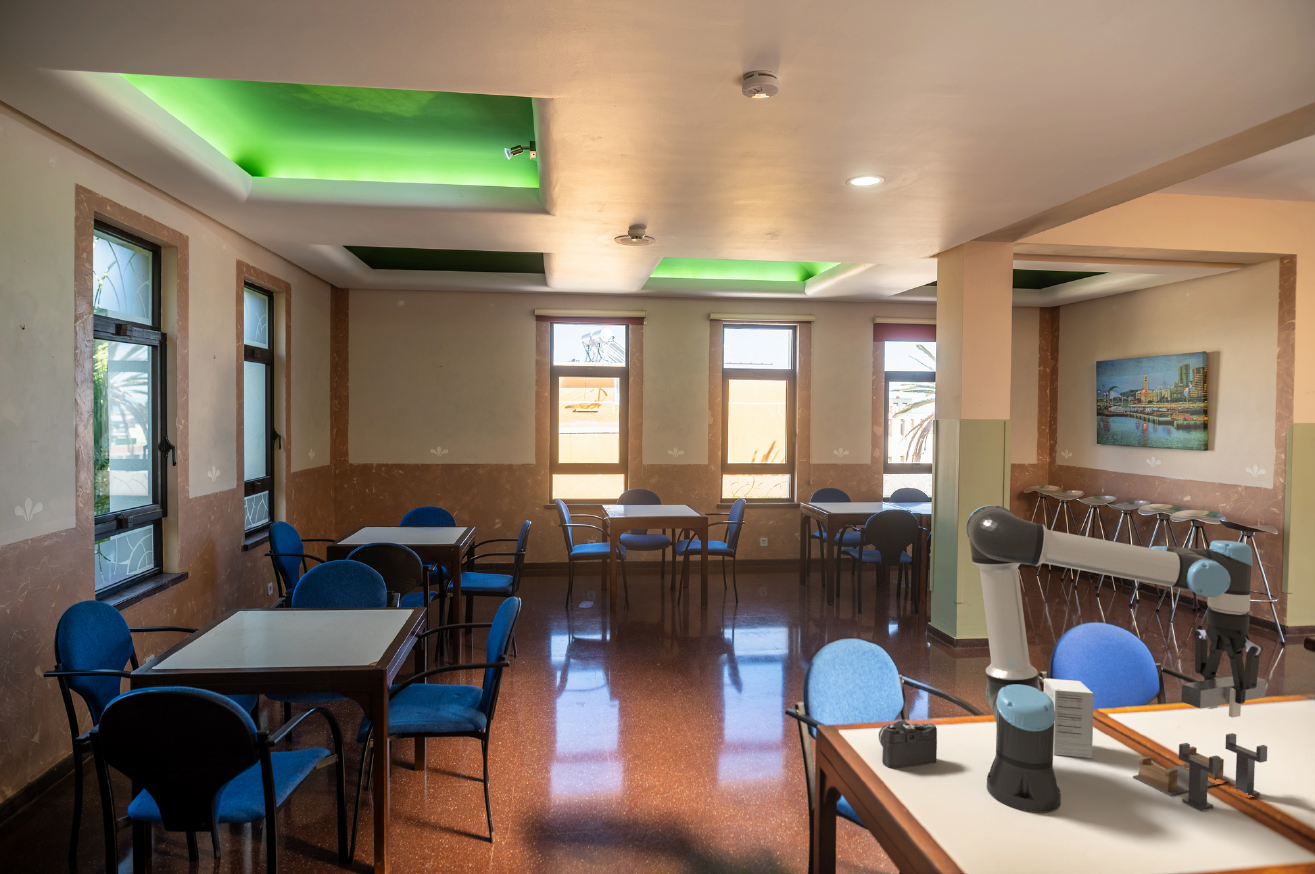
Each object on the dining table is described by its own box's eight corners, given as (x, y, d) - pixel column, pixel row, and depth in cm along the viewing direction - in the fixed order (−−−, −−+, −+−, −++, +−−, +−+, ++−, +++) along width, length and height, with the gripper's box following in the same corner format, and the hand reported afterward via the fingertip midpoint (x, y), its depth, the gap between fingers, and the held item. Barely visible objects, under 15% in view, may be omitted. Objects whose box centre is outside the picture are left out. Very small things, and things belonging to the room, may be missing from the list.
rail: (1200, 708, 157) (1201, 690, 157) (1181, 701, 161) (1182, 683, 161) (1265, 697, 165) (1266, 679, 165) (1245, 690, 168) (1246, 673, 168)
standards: (1208, 814, 157) (1210, 758, 156) (1174, 798, 163) (1176, 744, 163) (1267, 799, 163) (1269, 745, 163) (1233, 783, 170) (1234, 732, 170)
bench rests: (1170, 796, 164) (1171, 773, 164) (1132, 777, 173) (1133, 756, 172) (1228, 782, 171) (1229, 760, 171) (1189, 764, 179) (1190, 744, 179)
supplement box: (1093, 759, 182) (1095, 693, 181) (1053, 755, 184) (1055, 690, 183) (1079, 742, 191) (1080, 680, 191) (1041, 738, 193) (1043, 677, 193)
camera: (913, 744, 189) (914, 707, 189) (940, 764, 178) (941, 724, 178) (866, 750, 185) (866, 712, 185) (890, 770, 175) (891, 730, 174)
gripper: (1282, 619, 155) (1277, 725, 156) (1199, 599, 171) (1195, 695, 172) (1260, 621, 153) (1254, 729, 154) (1178, 601, 169) (1173, 699, 170)
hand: (1223, 711), depth 163 cm, fingers closed on rail, 4 cm apart
